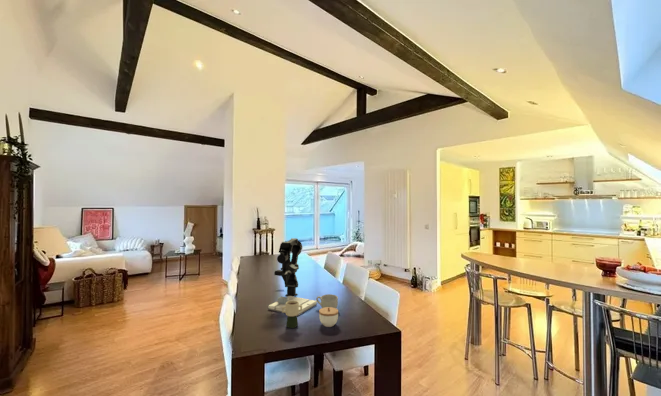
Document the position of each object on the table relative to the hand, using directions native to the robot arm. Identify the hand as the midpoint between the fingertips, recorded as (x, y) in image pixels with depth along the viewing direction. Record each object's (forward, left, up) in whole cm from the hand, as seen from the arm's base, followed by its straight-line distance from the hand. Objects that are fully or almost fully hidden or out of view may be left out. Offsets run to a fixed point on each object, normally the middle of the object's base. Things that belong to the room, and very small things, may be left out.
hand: (286, 283), depth 201 cm
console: (+7, +11, -12) cm, 18 cm away
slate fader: (+10, +5, -11) cm, 16 cm away
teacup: (0, +32, -12) cm, 34 cm away
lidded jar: (+20, +44, -12) cm, 50 cm away
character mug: (+32, +28, -12) cm, 44 cm away
